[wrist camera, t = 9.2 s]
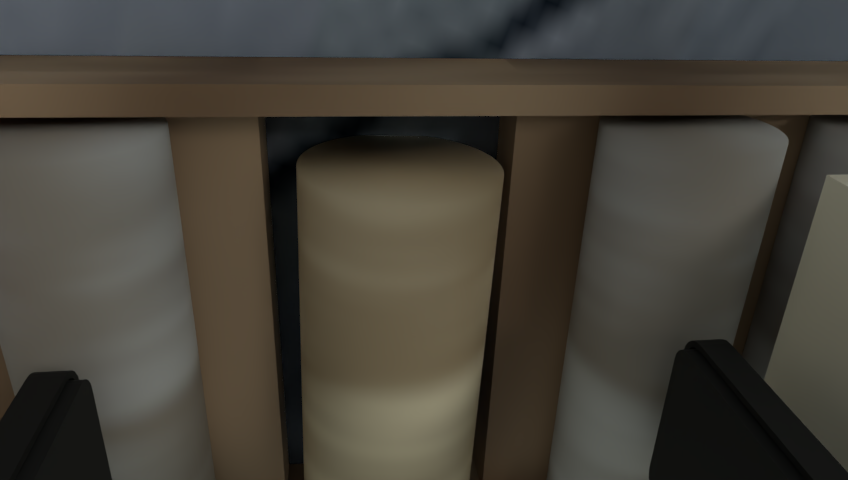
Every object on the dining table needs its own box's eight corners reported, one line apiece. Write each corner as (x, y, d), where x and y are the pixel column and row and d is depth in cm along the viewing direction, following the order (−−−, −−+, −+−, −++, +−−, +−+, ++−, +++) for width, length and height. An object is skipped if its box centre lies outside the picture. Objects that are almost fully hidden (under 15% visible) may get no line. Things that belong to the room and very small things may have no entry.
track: (1267, 64, 15) (1861, 170, 9) (1063, 426, 19) (1378, 652, 14) (-164, 53, 11) (-668, 217, 6) (-15, 500, 16) (-211, 850, 10)
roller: (298, 132, 13) (293, 206, 10) (479, 134, 14) (529, 205, 10) (304, 423, 16) (303, 550, 13) (452, 415, 17) (485, 535, 14)
